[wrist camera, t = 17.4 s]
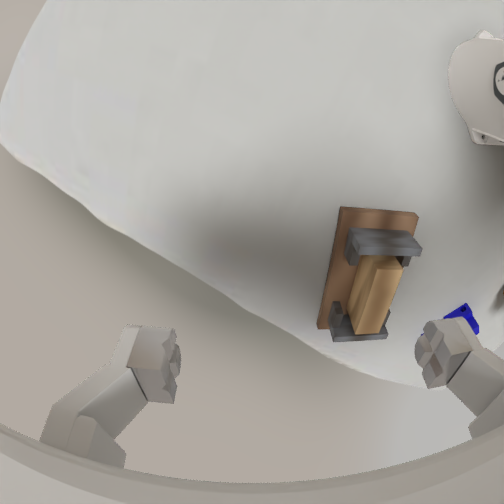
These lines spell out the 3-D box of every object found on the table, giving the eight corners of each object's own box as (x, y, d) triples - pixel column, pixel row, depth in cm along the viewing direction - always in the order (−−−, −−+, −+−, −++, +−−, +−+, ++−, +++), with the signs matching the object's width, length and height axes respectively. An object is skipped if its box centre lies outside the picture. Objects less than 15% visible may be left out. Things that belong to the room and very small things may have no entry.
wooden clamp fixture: (414, 212, 39) (434, 234, 34) (378, 321, 51) (388, 347, 46) (340, 206, 39) (353, 229, 34) (316, 323, 51) (322, 351, 45)
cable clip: (465, 302, 50) (478, 321, 45) (467, 314, 52) (479, 332, 47) (419, 330, 53) (429, 351, 48) (423, 340, 55) (432, 361, 50)
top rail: (387, 245, 41) (403, 269, 36) (368, 307, 47) (378, 333, 42) (363, 245, 41) (377, 269, 36) (346, 307, 47) (355, 334, 42)
